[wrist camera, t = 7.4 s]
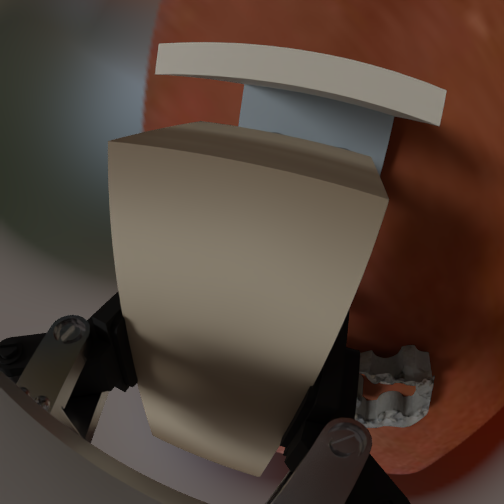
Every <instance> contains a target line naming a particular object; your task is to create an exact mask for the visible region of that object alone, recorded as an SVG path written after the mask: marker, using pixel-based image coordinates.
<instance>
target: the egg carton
mask: <svg viewBox="0 0 504 504" xmlns="http://www.w3.org/2000/svg"><path fill="white" fill-rule="evenodd" d="M359 373H361V374H364V375H365V376H366V377H367V378H368V379H369V380H370V381H371V382H372V383H373V384H377V383H379V382H380V383H382V384H391V385H393V384H394V383H404V384H406V385H412V386H415V385H416V391H415V393H414V395H413V396H407V397H403V396H402V394H401V393H400V392H397V391H388V392H385V393H383V394H381V395H380V396H379V397H378V399H377V400H372V401H366V399H365V398H364V397H362V392H363V377H362V375H361V374H359V381H358V393H357V403H356V412H355V420H357V421H359V422H360V423H362V424H363V425H364V426H365V427H366V428H377V427H381V426H395V427H408V426H411V425H413V424H415V423H416V422H418V421H419V420H420V419H422V418H423V417H424V416H425V415H426V414H427V412H428V409H429V404H430V400H431V394H432V389H433V384H434V378H435V376H433V377H432V371H431V366H430V358H429V352H422V351H419V350H418V349H416V347H415V345H407V346H402V347H401V350H400V351H399V352H398V354H396V355H395V356H392V357H389V358H381V357H378V356H376V355H375V354H374V353H373V351H372V350H371V351H366V352H363V353H360V368H359Z"/></svg>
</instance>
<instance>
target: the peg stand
mask: <svg viewBox="0 0 504 504" xmlns="http://www.w3.org/2000/svg"><path fill="white" fill-rule="evenodd" d="M155 74H160V75H175V76H186V77H196V78H205V79H213V80H221V81H228V82H234V83H241V84H245V85H244V91H243V98H242V105H241V112H240V119H239V127H244V128H250V129H255V130H261V131H266V132H272V133H277V134H282V135H287V136H291V137H296V138H301V139H305V140H309V141H314V142H318V143H322V144H326V145H330V146H334V147H338V148H342V149H345V150H349V151H353V152H356V153H360V154H363V155H367V156H370V157H371V158H372V160H373V162H374V164H375V167H376V169H377V171H378V174H379V176H380V173H381V170H382V166H383V162H384V158H385V154H386V150H387V146H388V142H389V138H390V134H391V129H392V125H393V120H394V116H395V117H400V118H405V119H410V120H415V121H419V122H424V123H428V124H432V125H436V126H440V121H441V117H442V112H443V107H444V102H445V97H446V90H444V89H441V88H439V87H436V86H434V85H431V84H429V83H426V82H423V81H421V80H418V79H415V78H412V77H409V76H406V75H403V74H400V73H397V72H394V71H391V70H388V69H384V68H381V67H377V66H374V65H370V64H366V63H362V62H358V61H354V60H350V59H346V58H341V57H337V56H332V55H327V54H322V53H316V52H310V51H304V50H298V49H291V48H283V47H275V46H265V45H254V44H240V43H213V42H191V43H165V44H159V47H158V55H157V62H156V71H155Z"/></svg>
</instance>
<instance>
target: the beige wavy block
mask: <svg viewBox="0 0 504 504" xmlns="http://www.w3.org/2000/svg"><path fill="white" fill-rule="evenodd" d="M108 180H109V203H110V218H111V232H112V242H113V252H114V260H115V269H116V276H117V284H118V291H119V297H120V303H121V309H122V315H123V317H124V318H125V323H126V329H127V334H128V339H129V344H130V349H131V353H132V358H133V362H134V366H135V371H136V375H137V379H138V382H137V384H138V387H139V391H140V395H141V398H142V402H143V406H144V409H145V413H146V416H147V419H148V422H149V425H150V428H151V432H152V435H153V436H155V437H157V438H159V439H161V440H164V441H165V442H167V443H170V444H172V445H174V446H176V447H178V448H181V449H183V450H185V451H188V452H190V453H193V454H195V455H197V456H200V457H202V458H205V459H207V460H210V461H213V462H215V463H218V464H221V465H224V466H227V467H229V468H233V469H235V470H238V471H241V472H244V473H248V474H251V475H254V476H258V477H260V475H261V474H262V472H263V471H264V469H265V468H266V466H267V465H268V463H269V461H270V460H271V458H272V457H273V455H274V453H275V452H276V450H277V449H278V447H279V445H280V443H281V439H282V437H283V435H284V433H285V432H286V430H287V428H288V426H289V424H290V423H291V421H292V419H293V417H294V415H295V414H296V412H297V410H298V408H299V406H300V404H301V402H302V401H303V399H304V397H305V395H306V393H307V391H308V389H309V387H310V386H313V385H314V383H315V381H316V379H317V377H318V375H319V373H320V371H321V369H322V367H323V365H324V363H325V361H326V359H327V357H328V354H329V352H330V350H331V348H332V346H333V344H334V342H335V340H336V337H337V335H338V333H339V331H340V329H341V326H342V324H343V322H344V320H345V317H346V315H347V313H348V310H349V308H350V306H351V303H352V301H353V298H354V296H355V293H356V291H357V289H358V286H359V284H360V281H361V278H362V276H363V273H364V271H365V268H366V265H367V263H368V260H369V257H370V255H371V252H372V249H373V246H374V244H375V241H376V238H377V235H378V232H379V229H380V226H381V223H382V220H383V217H384V214H385V211H386V208H387V205H388V201H389V198H388V196H387V193H386V191H385V188H384V186H383V183H382V181H381V178H380V176H379V174H378V171H377V169H376V167H375V164H374V162H373V160H372V158H371V157H370V156H367V155H363V154H360V153H356V152H353V151H349V150H345V149H342V148H338V147H334V146H330V145H326V144H322V143H318V142H314V141H309V140H305V139H301V138H296V137H291V136H287V135H282V134H277V133H272V132H266V131H261V130H255V129H250V128H244V127H238V126H231V125H224V124H217V123H210V122H202V121H200V122H194V123H188V124H182V125H177V126H172V127H167V128H162V129H157V130H152V131H148V132H143V133H139V134H135V135H131V136H127V137H122V138H119V139H115V140H111V141H108Z"/></svg>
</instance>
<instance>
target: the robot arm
mask: <svg viewBox="0 0 504 504" xmlns="http://www.w3.org/2000/svg"><path fill="white" fill-rule="evenodd" d="M348 321H349V310H348V313H347V315H346V317H345V320H344V322H343V324H342V326H341V329H340V331H339V333H338V335H337V337H336V340H335V342H334V344H333V346H332V348H331V350H330V352H329V354H328V357H327V359H326V361H325V363H324V365H323V367H322V369H321V371H320V373H319V375H318V377H317V379H316V381H315V383H314V385H313V386H310V387H309V389H308V391H307V393H306V395H305V397H304V399H303V401H302V402H301V404H300V406H299V408H298V410H297V412H296V414H295V415H294V417H293V419H292V421H291V423H290V424H289V426H288V428H287V430H286V432H285V433H284V435H283V437H282V439H281V443H280V446H283V447H285V450H284V454H283V455H284V456H286V459H285V463H286V465H287V466H288V468H289V469H290V471H289V472H288V474H287V475H286V476H285V478H284V479H283V481H282V482H281V483H280V485H279V486H278V487H277V489H276V490H275V491H274V493H273V494H272V495H271V496H270V498H269V499H268V500H267V502H266V503H265V504H410V502H409V500H408V499H407V497H406V496H405V495H404V494H403V493H402V492H401V490H400V489H399V488H398V487H397V486H396V485H395V484H394V482H393V481H392V480H391V479H390V477H389V476H388V475H387V474H386V473H385V471H384V470H383V469H382V468H381V467H380V465H379V464H378V463H377V462H376V461H375V459H374V458H373V457H372V456H371V455H370V451H371V447H372V437H371V435H370V432H369V430H368V429H367V428H366V427H365V426H364V425H363V424H362V423H360V422H359V421H357V420H355V412H356V403H357V393H358V381H359V368H360V351H358V350H354V349H351V348H347V347H346V343H347V332H348ZM137 382H138V379H137V375H136V371H135V366H134V362H133V358H132V353H131V349H130V344H129V339H128V334H127V329H126V323H125V318H124V317H123V315H122V309H121V303H120V297H119V291H118V292H117V293H116V294H115V295H114V296H113V297H112V298H111V299H110V300H109V301H107V302H106V303H105V304H104V305H103V306H102V307H101V308H100V309H99V310H98V311H97V312H96V313H94V314H93V315H92V316H91V317H90V319H88V320H86V319H84V318H83V317H81V316H78V315H68V316H64V317H61V318H60V319H58V320H57V321H55V322H54V323H53V325H52V326H51V327H50V329H49V330H48V332H47V333H42V334H34V335H27V336H18V337H11V338H6V339H4V340H3V341H1V342H0V504H208V503H206V502H203V501H200V500H198V499H195V498H193V497H190V496H188V495H185V494H183V493H181V492H178V491H176V490H174V489H172V488H170V487H167V486H165V485H163V484H161V483H159V482H157V481H155V480H153V479H151V478H149V477H147V476H145V475H143V474H141V473H139V472H137V471H135V470H134V469H132V468H130V467H128V466H126V465H125V464H123V463H121V462H119V461H118V460H116V459H114V458H113V457H111V456H109V455H108V454H106V453H104V452H103V451H101V450H100V449H98V448H97V447H95V446H94V445H92V444H91V441H92V438H93V435H94V432H95V429H96V426H97V424H98V421H99V418H100V415H101V412H102V409H103V407H104V404H105V401H106V399H107V396H108V393H109V391H111V390H112V389H113V388H114V386H115V387H117V388H118V389H120V390H122V391H124V392H126V390H127V389H128V388H129V386H131V387H133V386H134V385H136V383H137Z"/></svg>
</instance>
